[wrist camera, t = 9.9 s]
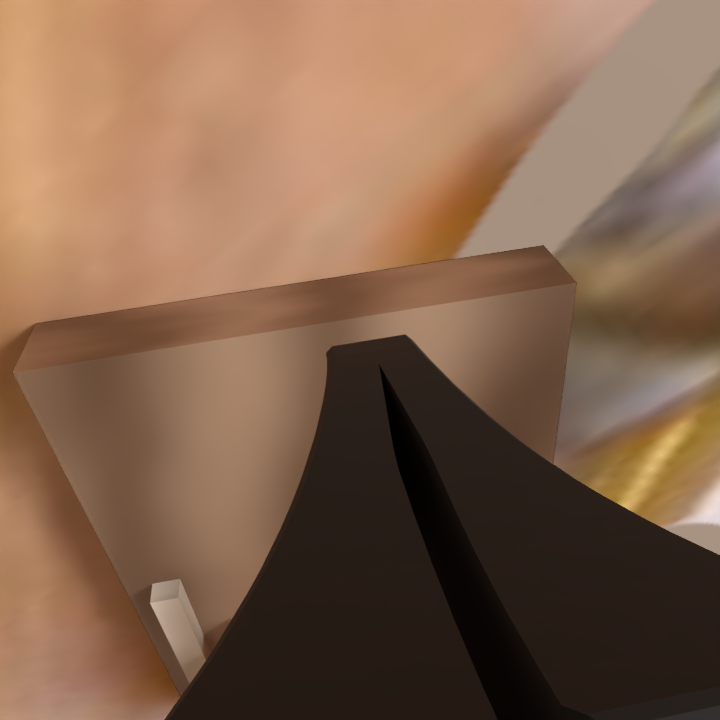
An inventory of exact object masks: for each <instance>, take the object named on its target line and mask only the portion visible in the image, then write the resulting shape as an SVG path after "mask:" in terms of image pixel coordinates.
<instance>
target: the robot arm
mask: <svg viewBox="0 0 720 720" xmlns="http://www.w3.org/2000/svg"><path fill="white" fill-rule="evenodd" d="M326 357H327V377H326V385H325V392H324V398H323V403H322V407H321V412H320V416H319V420H318V425H317V429H316V433H315V437H314V440H313V443H312V446H311V450H310V453H309V456H308V459H307V462H306V465H305V468H304V471H303V475H302V477H301V480H300V483H299V485H298V488H297V491H296V493H295V496H294V498H293V501H292V503H291V506H290V508H289V510H288V513H287V515H286V517H285V520H284V522H283V524H282V526H281V529H280V531H279V533H278V535H277V537H276V539H275V541H274V543H273V545H272V547H271V549H270V551H269V553H268V555H267V557H266V559H265V561H264V563H263V565H262V567H261V569H260V571H259V573H258V575H257V577H256V579H255V580H254V582H253V584H252V586H251V588H250V590H249V591H248V593H247V595H246V596H245V598H244V600H243V601H242V603H241V605H240V606H239V608H238V610H237V611H236V613H235V615H234V616H233V618H232V620H231V621H230V623H229V625H228V626H227V628H226V629H225V631H224V633H223V634H222V636H221V638H220V639H219V641H218V643H217V644H216V646H215V648H214V649H213V651H212V652H211V654H210V655H209V657H208V658H207V660H206V661H205V663H204V664H203V666H202V667H201V669H200V670H199V671H198V673H197V674H196V676H195V677H194V679H193V680H192V681H191V683H190V684H189V686H188V687H187V688H186V690H185V691H184V693H183V694H182V696H181V697H180V698H179V700H178V701H177V703H176V704H175V706H174V707H173V708H172V710H171V711H170V713H169V714H168V715H167V717H166V718H165V720H720V555H718V554H716V553H714V552H712V551H709V550H707V549H705V548H703V547H701V546H699V545H697V544H695V543H692V542H690V541H688V540H686V539H684V538H682V537H680V536H678V535H676V534H673V533H671V532H669V531H667V530H665V529H663V528H662V527H660V526H658V525H656V524H654V523H652V522H650V521H648V520H646V519H644V518H642V517H640V516H639V515H637V514H635V513H633V512H631V511H630V510H628V509H626V508H624V507H622V506H621V505H619V504H617V503H615V502H613V501H612V500H610V499H608V498H606V497H604V496H603V495H601V494H599V493H597V492H595V491H594V490H592V489H590V488H589V487H587V486H586V485H584V484H582V483H581V482H579V481H577V480H576V479H574V478H573V477H571V476H570V475H568V474H567V473H565V472H564V471H562V470H561V469H559V468H558V467H556V466H555V465H553V464H552V463H550V462H549V461H547V460H546V459H545V458H543V457H542V456H540V455H539V454H538V453H536V452H535V451H534V450H532V449H531V448H530V447H528V446H527V445H526V444H524V443H523V442H522V441H520V440H519V439H518V438H516V437H515V436H514V435H513V434H511V433H510V432H509V431H508V430H506V429H505V428H504V427H503V426H501V425H500V424H499V423H498V422H497V421H495V420H494V419H493V418H492V417H491V416H489V415H488V414H487V413H486V412H485V411H484V410H482V409H481V408H480V407H479V406H478V405H477V404H476V403H475V402H474V401H473V400H471V399H470V398H469V397H468V396H467V395H466V394H465V393H464V392H463V391H462V390H460V389H459V388H458V387H457V386H456V385H455V384H454V383H453V382H452V381H451V380H450V379H449V378H448V377H447V376H446V375H445V374H444V373H443V372H442V371H441V370H440V369H439V368H438V367H437V366H436V365H435V364H434V363H433V362H432V361H431V360H430V359H429V358H428V357H427V355H426V354H425V353H424V352H423V351H422V350H421V349H420V348H419V347H418V346H417V344H416V343H415V342H414V341H413V340H412V339H411V338H410V337H408V336H407V335H406V334H404V335H398V336H392V337H386V338H380V339H373V340H367V341H361V342H355V343H349V344H343V345H337V346H332V347H331V348H330V349H329V350H328V351H327V352H326Z"/></svg>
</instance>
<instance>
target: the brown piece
mask: <svg viewBox="0 0 720 720" xmlns="http://www.w3.org/2000/svg"><path fill="white" fill-rule="evenodd" d="M576 285H577V282H576V281H575V280H574V279H573V278H572V277H571V276H570V275H569V273H568V272H567V271H566V270H565V269H564V268H563V267H562V266H561V264H560V263H559V262H558V261H557V260H556V259H555V258H554V257H553V255H552V254H551V253H550V252H549V251H548V250H547V249H546V248H545V246H544V245H543V246H536V247H530V248H523V249H517V250H510V251H504V252H497V253H491V254H484V255H478V256H471V257H465V258H458V259H452V260H445V261H439V262H433V263H426V264H420V265H413V266H407V267H400V268H394V269H387V270H381V271H374V272H368V273H361V274H355V275H348V276H342V277H335V278H329V279H322V280H316V281H310V282H303V283H297V284H290V285H284V286H277V287H271V288H264V289H258V290H251V291H245V292H238V293H232V294H225V295H219V296H212V297H206V298H200V299H193V300H187V301H180V302H174V303H167V304H161V305H154V306H148V307H141V308H135V309H128V310H122V311H115V312H109V313H102V314H96V315H89V316H83V317H77V318H70V319H64V320H57V321H51V322H44V323H38V324H35V326H34V328H33V330H32V332H31V335H30V337H29V339H28V341H27V343H26V345H25V347H24V349H23V352H22V354H21V356H20V358H19V360H18V362H17V364H16V366H15V368H14V371H13V375H14V377H15V379H16V380H17V382H18V384H19V386H20V388H21V390H22V392H23V394H24V396H25V398H26V400H27V402H28V404H29V406H30V407H31V409H32V411H33V413H34V415H35V417H36V419H37V421H38V423H39V425H40V427H41V429H42V431H43V433H44V434H45V436H46V438H47V440H48V442H49V444H50V446H51V448H52V450H53V452H54V454H55V456H56V458H57V459H58V461H59V463H60V465H61V467H62V469H63V471H64V473H65V475H66V477H67V479H68V481H69V483H70V485H71V486H72V488H73V490H74V492H75V494H76V496H77V498H78V500H79V502H80V504H81V506H82V508H83V510H84V511H85V513H86V515H87V517H88V519H89V521H90V523H91V525H92V527H93V529H94V531H95V533H96V535H97V537H98V538H99V540H100V542H101V544H102V546H103V548H104V550H105V552H106V554H107V556H108V558H109V560H110V562H111V564H112V565H113V567H114V569H115V571H116V573H117V575H118V577H119V579H120V581H121V583H122V585H123V587H124V589H125V590H126V592H127V594H128V596H129V598H130V600H131V602H132V604H133V606H134V608H135V610H136V612H137V614H138V616H139V617H140V619H141V621H142V623H143V625H144V627H145V629H146V631H147V633H148V635H149V637H150V639H151V641H152V642H153V644H154V646H155V648H156V650H157V652H158V654H159V656H160V658H161V660H162V662H163V664H164V666H165V668H166V669H167V671H168V673H169V675H170V677H171V679H172V681H173V683H174V685H175V687H176V689H177V691H178V693H179V695H180V696H182V694H183V693H184V691H185V690H186V688H187V687H188V686H189V684H190V683H191V681H192V680H193V679H194V677H195V676H196V674H197V673H198V671H199V670H200V669H201V667H202V666H203V664H204V663H205V661H206V660H207V658H208V657H209V655H210V654H211V652H212V651H213V649H214V648H215V646H216V644H217V643H218V641H219V639H220V638H221V636H222V634H223V633H224V631H225V629H226V628H227V626H228V625H229V623H230V621H231V618H233V616H234V615H235V613H236V611H237V610H238V608H239V606H240V605H241V603H242V601H243V600H244V598H245V596H246V595H247V593H248V591H249V590H250V588H251V586H252V584H253V582H254V580H255V579H256V577H257V575H258V573H259V571H260V569H261V567H262V565H263V563H264V561H265V559H266V557H267V555H268V553H269V551H270V549H271V547H272V545H273V543H274V541H275V539H276V537H277V535H278V533H279V531H280V529H281V526H282V524H283V522H284V520H285V517H286V515H287V513H288V510H289V508H290V506H291V503H292V501H293V498H294V496H295V493H296V491H297V488H298V485H299V483H300V480H301V477H302V475H303V471H304V468H305V465H306V462H307V459H308V456H309V453H310V450H311V446H312V443H313V440H314V437H315V433H316V429H317V425H318V420H319V416H320V412H321V407H322V403H323V398H324V392H325V385H326V377H327V357H326V352H327V351H328V350H329V349H330V348H331V347H332V346H337V345H343V344H349V343H355V342H361V341H367V340H373V339H380V338H386V337H392V336H398V335H404V334H406V335H407V336H408V337H410V338H411V339H412V340H413V341H414V342H415V343H416V344H417V346H418V347H419V348H420V349H421V350H422V351H423V352H424V353H425V354H426V355H427V357H428V358H429V359H430V360H431V361H432V362H433V363H434V364H435V365H436V366H437V367H438V368H439V369H440V370H441V371H442V372H443V373H444V374H445V375H446V376H447V377H448V378H449V379H450V380H451V381H452V382H453V383H454V384H455V385H456V386H457V387H458V388H459V389H460V390H462V391H463V392H464V393H465V394H466V395H467V396H468V397H469V398H470V399H471V400H473V401H474V402H475V403H476V404H477V405H478V406H479V407H480V408H481V409H482V410H484V411H485V412H486V413H487V414H488V415H489V416H491V417H492V418H493V419H494V420H495V421H497V422H498V423H499V424H500V425H501V426H503V427H504V428H505V429H506V430H508V431H509V432H510V433H511V434H513V435H514V436H515V437H516V438H518V439H519V440H520V441H522V442H523V443H524V444H526V445H527V446H528V447H530V448H531V449H532V450H534V451H535V452H536V453H538V454H539V455H540V456H542V457H543V458H545V459H546V460H547V461H549V462H550V463H552V464H553V460H554V453H555V445H556V438H557V430H558V422H559V415H560V407H561V399H562V392H563V384H564V376H565V369H566V361H567V353H568V346H569V338H570V330H571V323H572V315H573V308H574V300H575V292H576Z"/></svg>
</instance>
